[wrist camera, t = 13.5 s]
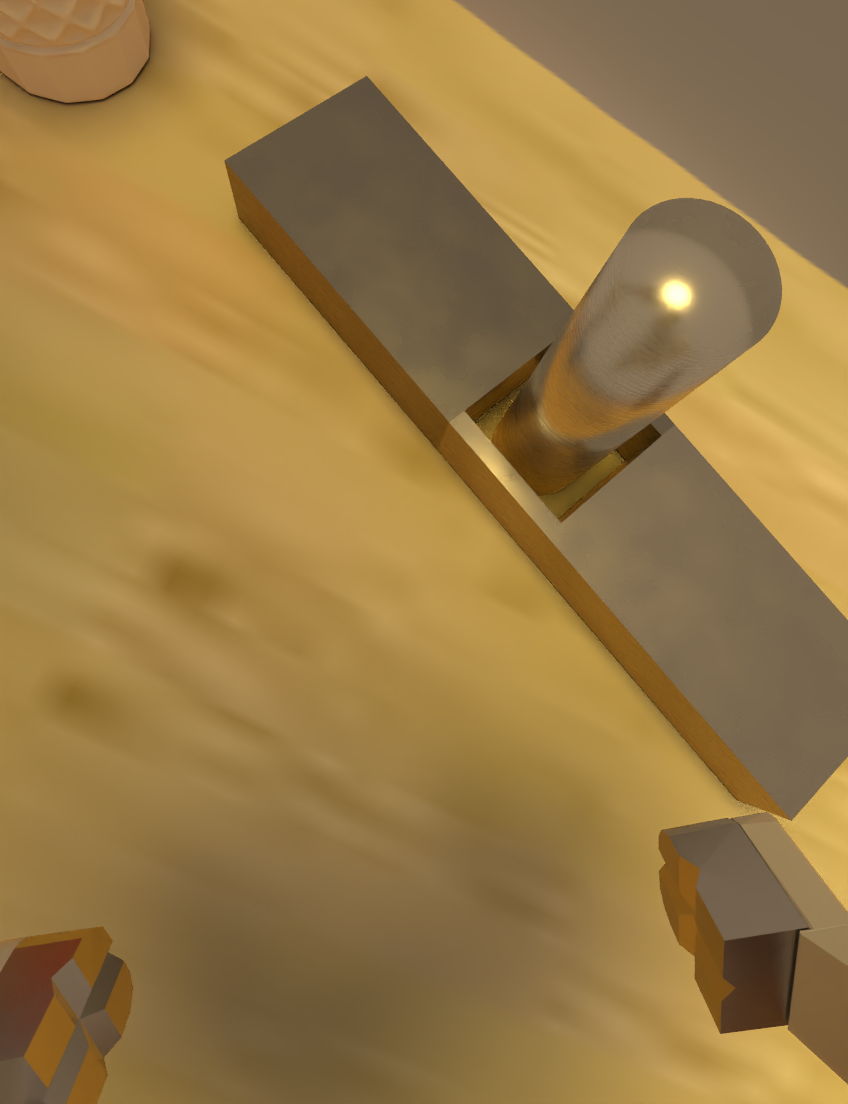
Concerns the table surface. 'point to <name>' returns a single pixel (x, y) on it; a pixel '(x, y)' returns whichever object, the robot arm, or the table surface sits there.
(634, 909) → the table surface
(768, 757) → the grey slab
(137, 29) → the white cup
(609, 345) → the pin
